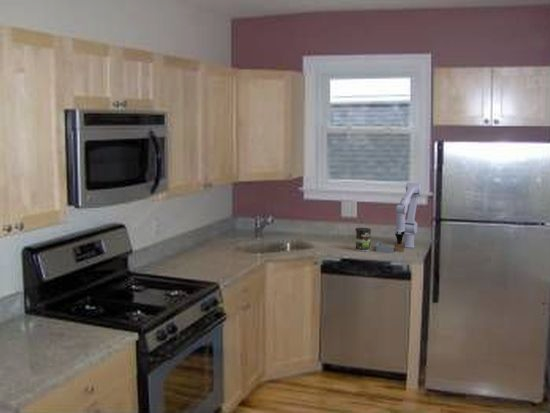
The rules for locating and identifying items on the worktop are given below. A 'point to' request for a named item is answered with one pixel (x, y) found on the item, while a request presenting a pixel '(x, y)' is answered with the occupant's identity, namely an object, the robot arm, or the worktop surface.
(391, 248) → the cleat wall
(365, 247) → the coffee can
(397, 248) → the cabinet block
